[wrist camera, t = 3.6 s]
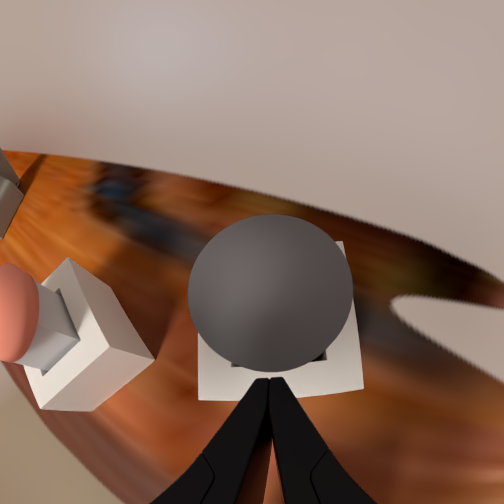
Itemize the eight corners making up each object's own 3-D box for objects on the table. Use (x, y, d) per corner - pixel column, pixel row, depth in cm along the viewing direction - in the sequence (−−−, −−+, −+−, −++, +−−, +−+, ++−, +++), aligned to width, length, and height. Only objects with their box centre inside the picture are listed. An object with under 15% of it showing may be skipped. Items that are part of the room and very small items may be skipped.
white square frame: (155, 360, 22) (109, 346, 16) (92, 411, 20) (40, 408, 14) (110, 287, 26) (68, 256, 20) (57, 338, 24) (10, 319, 18)
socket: (341, 388, 19) (363, 388, 13) (225, 396, 20) (198, 399, 14) (329, 281, 23) (342, 240, 17) (224, 290, 24) (200, 254, 18)
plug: (332, 371, 16) (363, 360, 9) (230, 379, 17) (185, 372, 10) (321, 277, 19) (337, 208, 12) (228, 285, 20) (192, 222, 12)
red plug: (109, 348, 18) (32, 319, 11) (62, 390, 17) (-14, 375, 10) (79, 288, 21) (15, 245, 14) (38, 330, 20) (-27, 300, 13)
